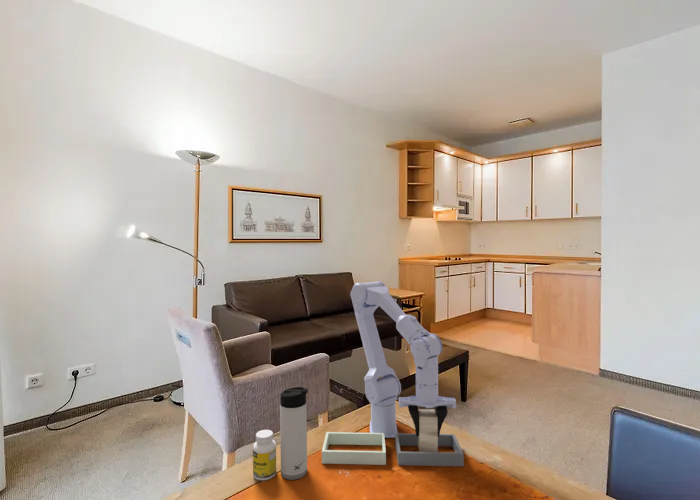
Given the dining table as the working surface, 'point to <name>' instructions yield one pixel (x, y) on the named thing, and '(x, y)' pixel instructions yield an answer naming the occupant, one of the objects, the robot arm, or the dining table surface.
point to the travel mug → (293, 433)
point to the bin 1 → (354, 456)
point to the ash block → (428, 431)
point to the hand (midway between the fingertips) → (427, 434)
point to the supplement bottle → (264, 455)
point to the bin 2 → (428, 457)
